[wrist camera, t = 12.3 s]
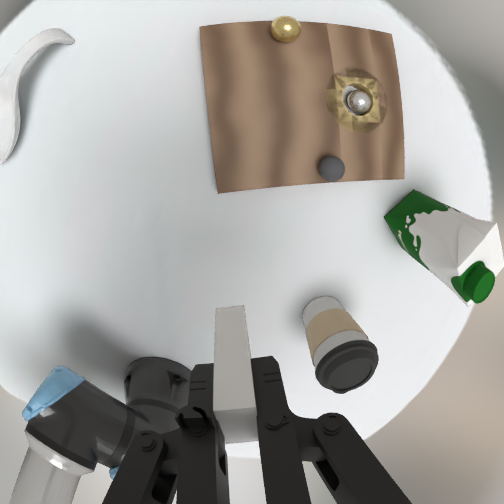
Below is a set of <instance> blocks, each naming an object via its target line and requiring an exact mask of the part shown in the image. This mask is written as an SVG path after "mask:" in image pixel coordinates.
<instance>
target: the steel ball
mask: <svg viewBox="0 0 504 504" xmlns="http://www.w3.org/2000/svg"><path fill="white" fill-rule="evenodd" d="M347 101H348V105H349V107H350V108H351V109H352V110H353V111H355V112H357V113H363V112H366V111H367V110H368V109H369V108H370V106H371V99H370V97H369V96H368V94H367V93H365V92H364V91H361V90H355V91H353V92H351V93H350V94H349V96H348V100H347Z"/></svg>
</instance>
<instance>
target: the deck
mask: <svg viewBox="0 0 504 504" xmlns="http://www.w3.org/2000/svg"><path fill="white" fill-rule="evenodd" d="M272 22H273V21H254V22H237V23H225V24H216V25H208V26H201V27H200V38H201V49H202V60H203V70H204V80H205V90H206V99H207V108H208V117H209V126H210V134H211V143H212V151H213V159H214V167H215V175H216V183H217V190H218V194H219V193H227V192H235V191H243V190H252V189H261V188H270V187H281V186H291V185H303V184H316V183H330V181H327V180H325V179H324V178H323V177H322V176H321V174H320V171H319V165H320V163H321V161H322V160H323V159H324V158H325V157H328V156H336V157H338V158H340V159H341V160H342V161H343V163H344V165H345V173H344V176H343V177H342V178H341V179H340V180H338V181H335V182H346V181H365V180H393V179H404V129H403V113H402V101H401V91H400V83H399V75H398V68H397V61H396V55H395V49H394V44H393V39H392V34H389V33H385V32H380V31H375V30H370V29H364V28H358V27H352V26H345V25H337V24H328V23H316V22H300V21H298V22H299V23H300V25H301V34H300V36H299V37H298V38H297V39H296V40H294V41H292V42H282V41H279V40H277V39H276V38H275V37H274V36H273V35H272V33H271V29H270V28H271V24H272ZM346 86H354V87H355V88H357V89H358V90H361V91H364V92H365V93H367V94H368V96H369V97H370V99H371V106H370V108H369V109H368V110H367V111H366V112H363V113H361V114H360V115H358V116H356V115H354V114H352V113H351V112H349V111H348V110H347V108H346V107H345V105H344V103H343V95H342V94H343V92H344V90H345V87H346Z"/></svg>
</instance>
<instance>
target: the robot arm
mask: <svg viewBox="0 0 504 504" xmlns="http://www.w3.org/2000/svg"><path fill="white" fill-rule="evenodd" d="M85 379H86V378H84V377H81V376H79V375H78V374H76V373H74V372H73V371H71V370H70V369H68V368H67V367H64V366H58V367H56V368H54V369H53V370H52V372H51V373H50V374H49V375H48V377H47V378H46V379H45V380H44V382H43V383H42V384H41V386H40V387H39V389H38V390H37V391H36V393H35V394H34V396H33V397H32V398H31V400H30V401H29V403H28V404H27V406H26V407H25V409H24V410H23V412H22V416H23V417H24V419H25V420H26V421H28V424H27V426H26V429H25V434H26V437H27V439H28V442H29V448H28V450H27V453H26V456H25V458H24V461H23V464H22V466H21V469H20V472H19V475H18V478H17V481H16V484H15V487H14V490H13V493H12V497H11V500H10V503H9V504H72V501H73V498H74V495H75V492H76V489H77V486H78V483H79V480H80V477H81V476H82V475H84V474H88V473H91V472H94V470H95V467H96V464H97V462H98V463H100V464H103V465H105V466H107V467H109V468H110V470H109V473H110V477H111V478H112V479H113V481H112V483H111V485H110V488H109V490H108V492H107V494H106V496H105V498H104V501H103V503H102V504H172V502H173V499H174V496H175V493H176V490H177V501H176V504H230V499H229V484H228V464H227V453H226V450H225V442H226V444H229V443H241V442H251V441H259V448H260V456H261V464H262V472H263V480H264V487H265V494H266V502H267V504H311V501H310V496H309V491H308V487H307V482H306V478H305V473H304V469H303V464H302V461H310V462H312V463H313V465H314V467H315V468H316V470H317V471H318V473H319V475H320V477H321V478H322V480H323V481H324V483H325V485H326V486H327V488H328V489H329V491H330V493H331V494H332V496H333V498H334V499H335V501H336V502H337V504H412V503H411V502H410V501H409V499H408V498H407V497H406V496H405V495H404V493H403V492H402V490H401V489H400V488H399V487H398V486H397V484H396V483H395V481H393V479H392V478H391V476H390V475H389V474H388V472H387V471H386V470H385V469H384V467H383V466H382V465H381V463H380V462H379V461H378V460H377V458H376V457H375V455H374V454H373V453H372V452H371V450H370V449H369V448H368V446H367V445H366V444H365V442H364V441H363V440H362V438H361V437H360V436H359V434H358V433H357V432H356V430H355V429H354V428H353V426H352V425H351V424H350V422H349V421H348V420H347V419H346V418H345V417H344V416H343V415H341V414H338V413H327V414H323V415H322V416H320V417H319V418H318V419H310V418H302V417H299V416H297V415H295V414H294V413H292V412H291V410H290V409H289V407H288V404H287V400H286V395H285V391H284V386H283V382H282V377H281V373H280V368H279V364H278V362H277V361H276V360H275V359H274V357H273V356H267V357H260V358H252V359H251V353H250V344H249V337H248V330H247V323H246V316H245V309H244V305H241V306H232V307H224V308H216V315H215V343H214V363H211V364H198V365H195V367H194V368H193V370H192V372H191V371H190V370H189V369H187V368H186V367H184V366H182V365H181V364H178V363H176V362H174V361H171V360H167V359H163V358H154V357H150V358H142V359H139V360H136V361H134V362H133V363H131V364H130V365H129V367H128V368H127V371H126V374H125V377H124V389H125V399H126V405H125V404H124V403H122V402H120V401H118V400H117V399H115V398H113V397H112V396H110V395H108V394H107V393H105V392H103V391H102V390H100V389H99V388H97V387H96V386H94V385H93V384H91V383H90V382H88V381H87V380H85Z"/></svg>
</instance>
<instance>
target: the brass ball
mask: <svg viewBox="0 0 504 504" xmlns="http://www.w3.org/2000/svg"><path fill="white" fill-rule="evenodd" d="M270 29H271V33H272V35H273V36H274V37H275V38H276V39H277V40H279V41H282V42H292V41H294V40H296V39H297V38H298V37H299V36H300V34H301V25H300V23H299V22H298V21H297V20H296V19H294V18H293V17H290V16H281V17H278V18H276V19H275V20H274V21H273V22H272V24H271V28H270Z"/></svg>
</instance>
